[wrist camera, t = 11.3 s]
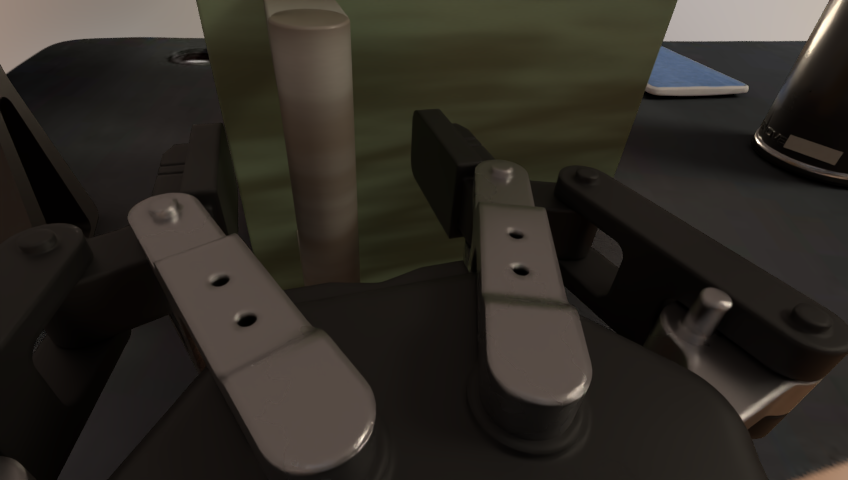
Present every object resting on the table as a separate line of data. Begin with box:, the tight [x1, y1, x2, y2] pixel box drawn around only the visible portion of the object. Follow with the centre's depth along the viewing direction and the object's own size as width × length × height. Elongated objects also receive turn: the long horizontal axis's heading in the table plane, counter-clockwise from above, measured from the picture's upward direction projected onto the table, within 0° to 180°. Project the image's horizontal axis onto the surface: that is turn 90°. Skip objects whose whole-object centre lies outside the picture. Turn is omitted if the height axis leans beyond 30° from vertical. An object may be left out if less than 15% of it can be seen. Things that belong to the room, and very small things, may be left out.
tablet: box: [645, 46, 749, 96], centre depth 55 cm, size 19×13×1 cm, turn 12°
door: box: [196, 0, 677, 290], centre depth 15 cm, size 6×16×18 cm, turn 108°
